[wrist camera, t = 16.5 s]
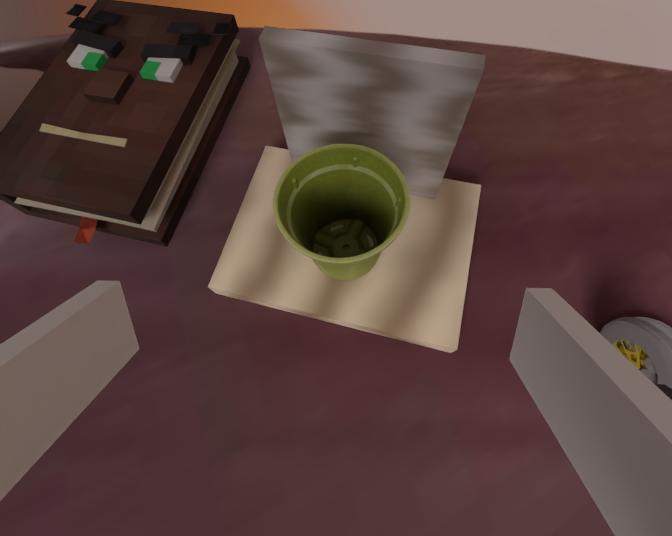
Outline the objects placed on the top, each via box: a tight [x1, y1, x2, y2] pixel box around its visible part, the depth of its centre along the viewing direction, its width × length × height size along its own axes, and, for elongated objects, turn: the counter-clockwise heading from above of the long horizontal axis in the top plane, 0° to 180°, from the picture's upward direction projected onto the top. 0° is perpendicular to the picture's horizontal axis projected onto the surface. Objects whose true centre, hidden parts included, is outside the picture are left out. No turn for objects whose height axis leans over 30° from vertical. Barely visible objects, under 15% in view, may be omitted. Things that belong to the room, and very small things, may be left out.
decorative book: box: [0, 0, 250, 246], centre depth 38 cm, size 19×8×30 cm
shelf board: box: [208, 26, 486, 353], centre depth 27 cm, size 22×16×16 cm
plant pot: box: [273, 144, 410, 281], centre depth 28 cm, size 9×9×9 cm
